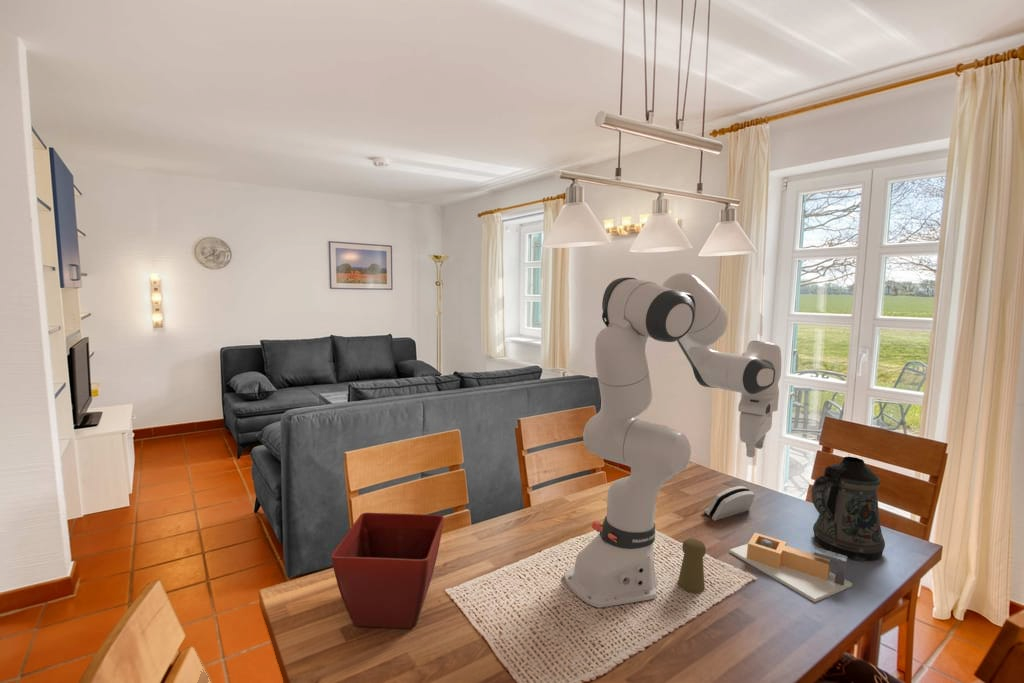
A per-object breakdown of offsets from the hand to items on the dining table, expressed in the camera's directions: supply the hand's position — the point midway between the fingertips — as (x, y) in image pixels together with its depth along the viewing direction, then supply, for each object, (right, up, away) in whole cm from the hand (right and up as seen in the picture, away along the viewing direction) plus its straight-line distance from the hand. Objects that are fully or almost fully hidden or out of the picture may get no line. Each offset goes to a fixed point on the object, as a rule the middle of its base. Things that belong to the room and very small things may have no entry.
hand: (754, 452), depth 133 cm
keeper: (+12, -29, -12) cm, 33 cm away
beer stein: (+27, -28, +4) cm, 39 cm away
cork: (-23, -28, -15) cm, 40 cm away
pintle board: (+5, -28, -7) cm, 29 cm away
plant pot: (-91, -28, -27) cm, 99 cm away
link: (+5, -27, -7) cm, 28 cm away
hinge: (+3, -25, +23) cm, 34 cm away
